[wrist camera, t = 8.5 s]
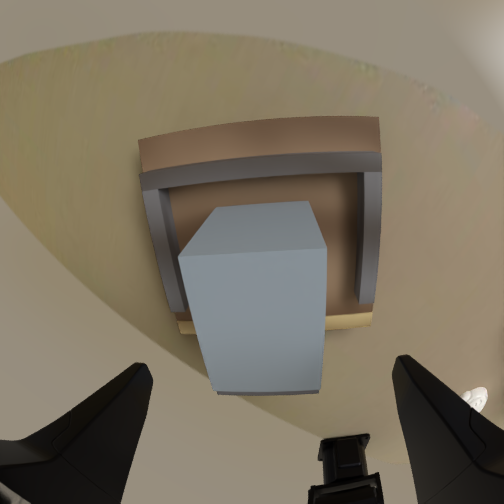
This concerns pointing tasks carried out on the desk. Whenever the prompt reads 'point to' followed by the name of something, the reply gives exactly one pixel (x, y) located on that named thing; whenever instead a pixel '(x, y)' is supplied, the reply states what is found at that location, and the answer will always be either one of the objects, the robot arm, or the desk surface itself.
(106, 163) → the desk surface
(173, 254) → the dock
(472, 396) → the astronaut figurine
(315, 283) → the pale blue box
